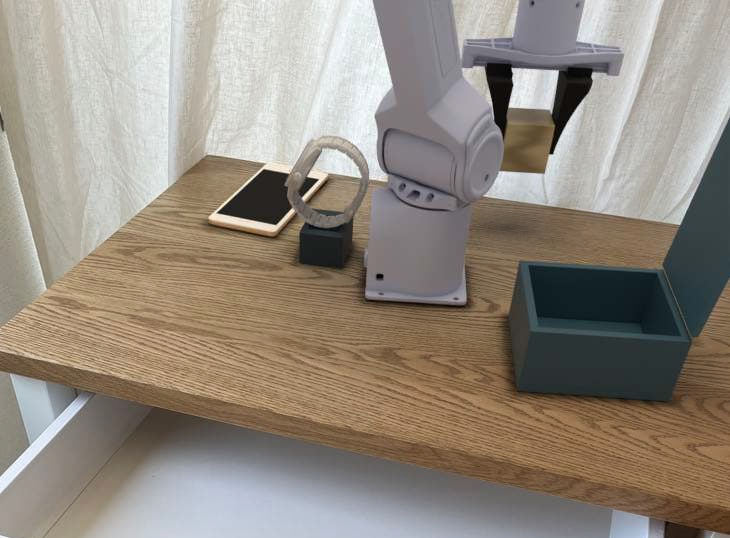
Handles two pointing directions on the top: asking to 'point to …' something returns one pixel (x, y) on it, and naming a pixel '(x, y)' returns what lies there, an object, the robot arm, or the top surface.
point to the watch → (324, 227)
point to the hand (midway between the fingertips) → (523, 149)
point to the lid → (703, 243)
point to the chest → (596, 331)
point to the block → (527, 140)
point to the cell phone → (264, 201)
